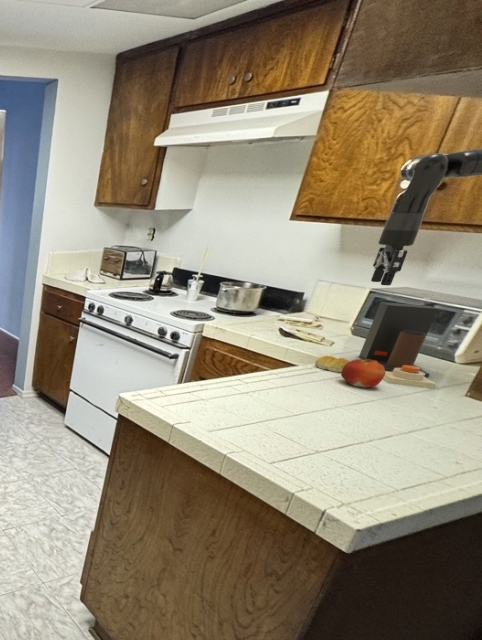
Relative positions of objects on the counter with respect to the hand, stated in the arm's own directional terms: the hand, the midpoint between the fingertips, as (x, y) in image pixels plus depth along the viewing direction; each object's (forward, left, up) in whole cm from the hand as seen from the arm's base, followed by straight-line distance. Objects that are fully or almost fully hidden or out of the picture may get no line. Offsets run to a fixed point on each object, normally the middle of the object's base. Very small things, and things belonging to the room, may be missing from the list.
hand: (380, 283), depth 146 cm
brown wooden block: (-13, -1, -26) cm, 28 cm away
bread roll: (+5, +6, -28) cm, 29 cm away
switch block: (-11, +11, -27) cm, 31 cm away
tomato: (+3, +22, -28) cm, 35 cm away
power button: (-11, +11, -24) cm, 29 cm away
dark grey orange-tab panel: (-13, -5, -27) cm, 31 cm away
